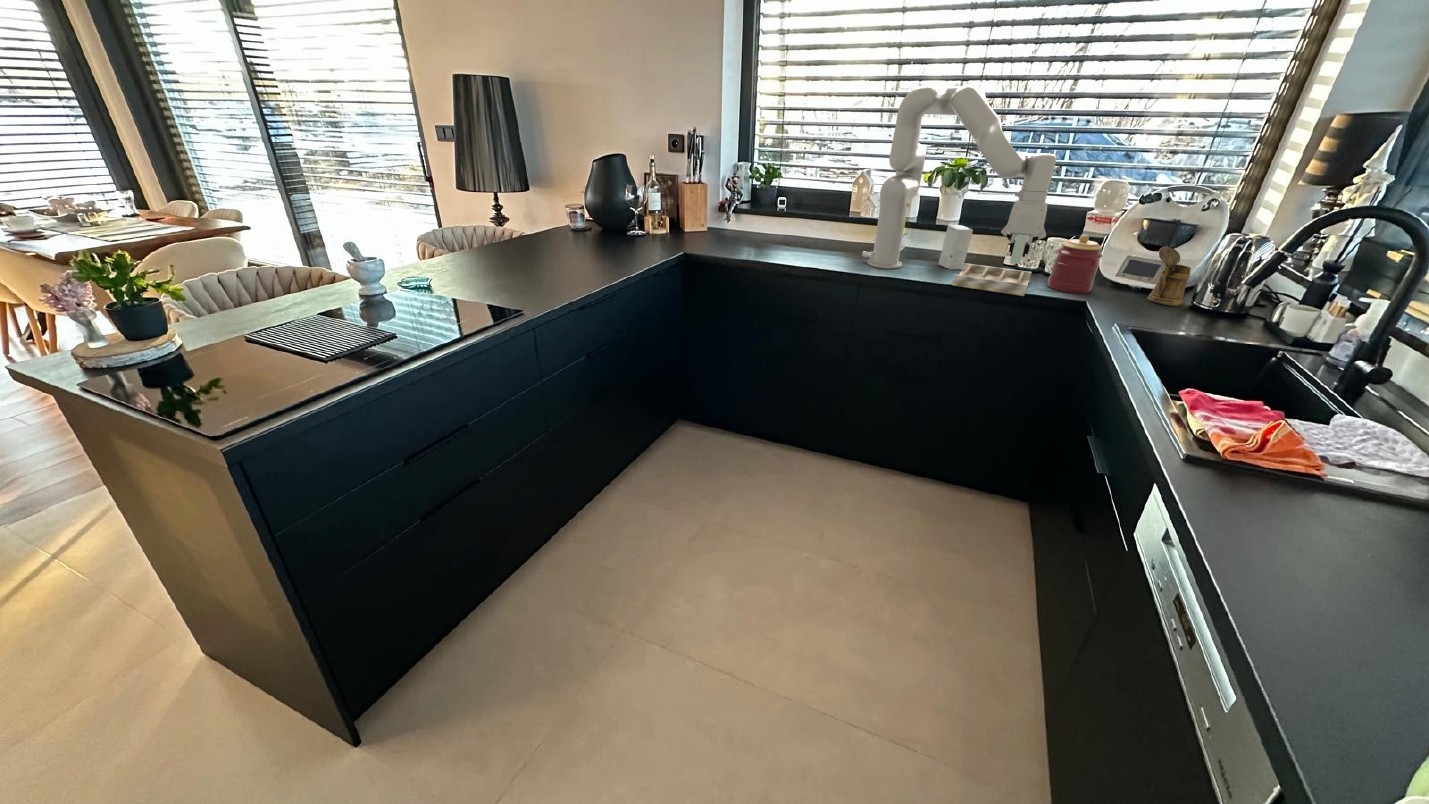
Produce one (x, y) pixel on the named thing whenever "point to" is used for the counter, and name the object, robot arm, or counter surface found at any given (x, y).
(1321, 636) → the counter surface
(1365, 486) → the counter surface
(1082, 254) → the canister
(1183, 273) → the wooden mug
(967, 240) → the skincare box
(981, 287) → the divided tray
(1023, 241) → the grey-green flat block
